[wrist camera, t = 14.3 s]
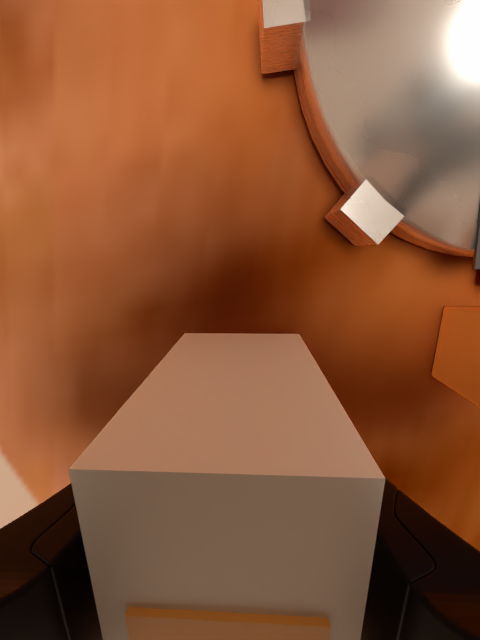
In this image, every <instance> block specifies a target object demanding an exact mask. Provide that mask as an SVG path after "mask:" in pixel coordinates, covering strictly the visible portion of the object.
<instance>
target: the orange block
mask: <svg viewBox="0 0 480 640" xmlns="http://www.w3.org/2000/svg"><path fill="white" fill-rule="evenodd" d="M431 376H433V377H434V378H436V379H437V380H439V381H440V382H441V383H443V384H444V385H446V386H447V387H449V388H450V389H452V390H453V391H455V392H456V393H458V394H459V395H461V396H462V397H464V398H465V399H467V400H468V401H470V402H471V403H473V404H474V405H476V406H477V407H478V408H480V307H444V310H443V315H442V320H441V326H440V331H439V336H438V342H437V347H436V353H435V358H434V363H433V369H432V374H431Z"/></svg>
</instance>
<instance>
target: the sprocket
mask: <svg viewBox="0 0 480 640" xmlns="http://www.w3.org/2000/svg"><path fill="white" fill-rule="evenodd" d="M258 28H259V43H260V58H261V73H262V74H266V73H273V72H280V71H287V70H293V69H294V76H295V81H296V85H297V90H298V95H299V99H300V104H301V109H302V112H303V115H304V117H305V120H306V123H307V126H308V129H309V132H310V135H311V138H312V140H313V142H314V144H315V146H316V148H317V150H318V152H319V154H320V156H321V158H322V160H323V162H324V164H325V166H326V168H327V169H328V171H329V172H330V174H331V175H332V176H333V178H334V179H335V181H336V182H337V184H338V185H339V187H340V188H341V190H342V191H343V192H344V193H345V194H344V195H343V196H342V197H341V198H340V199H339V201H338V202H337V203H336V204H335V205H334V207H333V208H332V209H331V210H330V211H329V212H328V214H327V215H326V216H325V217H324V218H325V219H326V220H327V221H328V222H330V223H331V224H332V225H333V226H334V227H335V228H336V229H337V230H338V231H339V232H340V233H342V234H343V235H344V236H345V237H346V238H347V239H348V240H349V241H350V242H351V243H352V244H354V245H355V246H366V245H378V244H379V243H380V242H381V241H382V240H383V239H384V238H385V237H386V236H387V234H388V233H389V232H391V233H393V234H394V235H396V236H398V237H400V238H401V239H403V240H406V241H408V242H411V243H413V244H416V245H418V246H421V247H423V248H425V249H429V250H433V251H437V252H441V253H445V254H449V255H456V256H466V257H473V265H472V269H480V0H258Z"/></svg>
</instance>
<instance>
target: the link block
mask: <svg viewBox="0 0 480 640" xmlns="http://www.w3.org/2000/svg"><path fill="white" fill-rule="evenodd" d="M68 470H69V475H70V479H71V484H72V489H73V494H74V499H75V504H76V509H77V514H78V519H79V524H80V529H81V534H82V539H83V544H84V549H85V554H86V558H87V563H88V568H89V573H90V578H91V583H92V588H93V593H94V598H95V603H96V608H97V613H98V618H99V623H100V628H101V633H102V637H103V640H360V639H361V632H362V626H363V620H364V613H365V607H366V600H367V594H368V587H369V581H370V575H371V568H372V562H373V555H374V549H375V542H376V536H377V529H378V523H379V517H380V510H381V504H382V497H383V491H384V484H385V477H384V475H383V474H382V472H381V470H380V469H379V467H378V465H377V464H376V462H375V460H374V458H373V457H372V455H371V453H370V452H369V450H368V448H367V447H366V445H365V443H364V442H363V440H362V438H361V437H360V435H359V433H358V432H357V430H356V428H355V427H354V425H353V423H352V422H351V420H350V418H349V416H348V415H347V413H346V411H345V410H344V408H343V406H342V405H341V403H340V401H339V400H338V398H337V396H336V395H335V393H334V391H333V390H332V388H331V386H330V385H329V383H328V381H327V380H326V378H325V376H324V374H323V373H322V371H321V369H320V368H319V366H318V364H317V363H316V361H315V359H314V358H313V356H312V354H311V353H310V351H309V349H308V348H307V346H306V344H305V343H304V341H303V339H302V338H301V336H300V334H241V333H184V335H183V336H182V337H181V338H180V339H179V340H178V342H177V343H176V344H175V345H174V346H173V347H172V349H171V350H170V351H169V352H168V353H167V354H166V356H165V357H164V358H163V359H162V360H161V361H160V363H159V364H158V365H157V366H156V367H155V368H154V370H153V371H152V372H151V373H150V374H149V375H148V377H147V378H146V379H145V380H144V381H143V382H142V384H141V385H140V386H139V387H138V388H137V389H136V391H135V392H134V393H133V394H132V395H131V396H130V398H129V399H128V400H127V401H126V402H125V403H124V405H123V406H122V407H121V408H120V409H119V410H118V412H117V413H116V414H115V415H114V416H113V417H112V419H111V420H110V421H109V422H108V423H107V424H106V426H105V427H104V428H103V429H102V430H101V432H100V433H99V434H98V435H97V436H96V437H95V439H94V440H93V441H92V442H91V443H90V444H89V446H88V447H87V448H86V449H85V450H84V451H83V453H82V454H81V455H80V456H79V457H78V458H77V460H76V461H75V462H74V463H73V464H72V465H71V467H70V468H69V469H68Z"/></svg>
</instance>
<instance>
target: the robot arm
mask: <svg viewBox="0 0 480 640" xmlns="http://www.w3.org/2000/svg"><path fill="white" fill-rule="evenodd" d="M0 640H103V637H102V633H101V628H100V623H99V618H98V613H97V608H96V603H95V598H94V593H93V588H92V583H91V578H90V573H89V568H88V563H87V558H86V554H85V549H84V544H83V539H82V534H81V529H80V524H79V519H78V514H77V509H76V504H75V499H74V494H73V489H72V484H69V485H68V486H66V487H65V488H63V489H62V490H61V491H59V492H58V493H56V494H55V495H53V496H52V497H50V498H49V499H47V500H46V501H44V502H43V503H41V504H40V505H38V506H36V507H35V508H33V509H32V510H30V511H28V512H27V513H25V514H24V515H22V516H20V517H19V518H17V519H16V520H14V521H12V522H11V523H9V524H8V525H6V526H4V527H3V528H1V529H0ZM360 640H480V551H478V550H477V549H476V548H474V547H473V546H471V545H470V544H469V543H467V542H466V541H465V540H463V539H462V538H460V537H459V536H458V535H456V534H455V533H454V532H452V531H451V530H450V529H448V528H447V527H446V526H444V525H443V524H442V523H440V522H439V521H438V520H436V519H435V518H434V517H433V516H431V515H430V514H429V513H428V512H426V511H425V510H424V509H423V508H421V507H420V506H419V505H418V504H416V503H415V502H414V501H413V500H411V499H410V498H409V497H408V496H407V495H405V494H404V493H403V492H402V491H401V490H397V487H396V486H395V485H393V484H392V483H391V482H390V481H389V480H387V479H386V478H385V484H384V491H383V497H382V504H381V510H380V517H379V523H378V529H377V536H376V542H375V549H374V555H373V562H372V568H371V575H370V581H369V587H368V594H367V600H366V607H365V613H364V620H363V626H362V632H361V639H360Z"/></svg>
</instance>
